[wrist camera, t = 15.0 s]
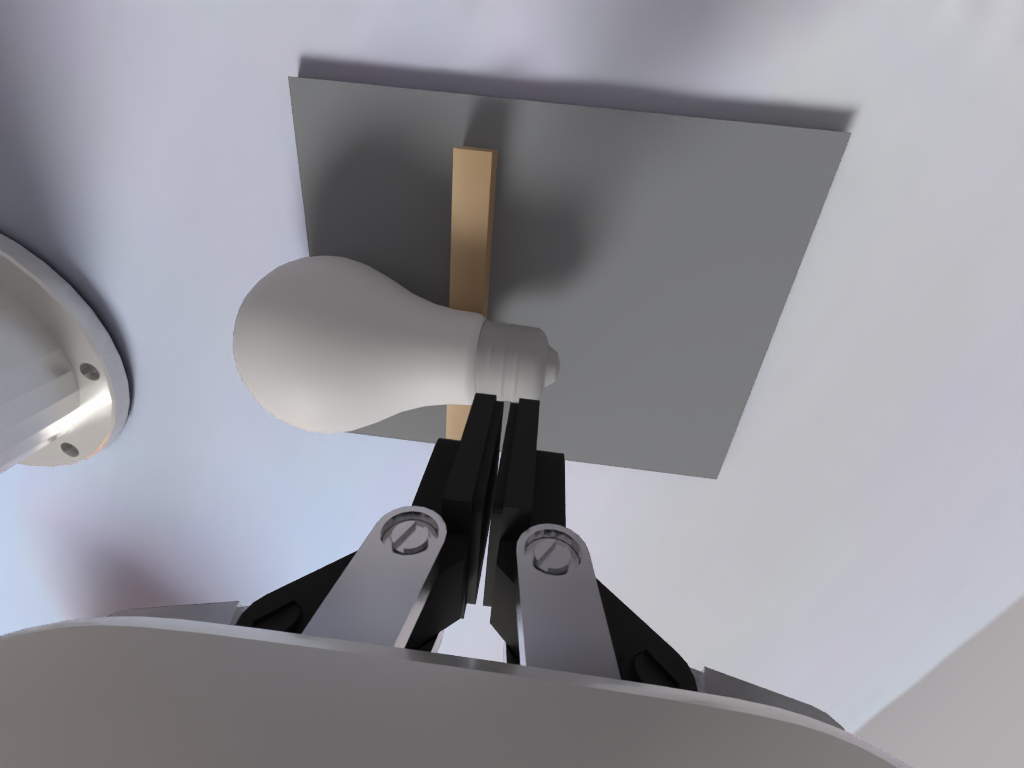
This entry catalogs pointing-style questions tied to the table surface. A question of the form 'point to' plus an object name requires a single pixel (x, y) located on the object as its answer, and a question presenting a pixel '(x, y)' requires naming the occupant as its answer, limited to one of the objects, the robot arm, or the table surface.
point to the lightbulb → (373, 348)
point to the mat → (582, 249)
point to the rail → (470, 245)
